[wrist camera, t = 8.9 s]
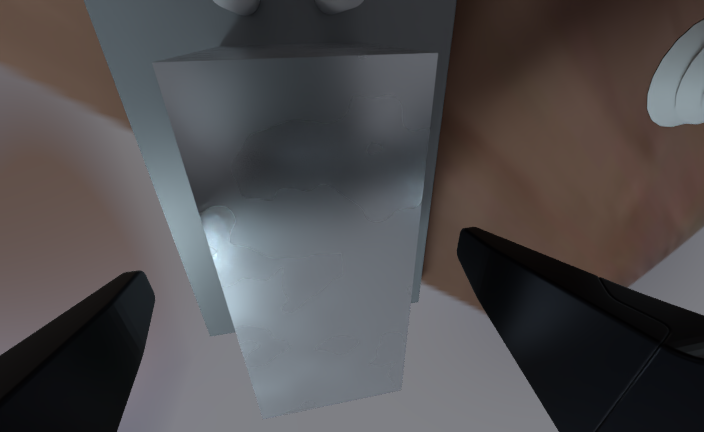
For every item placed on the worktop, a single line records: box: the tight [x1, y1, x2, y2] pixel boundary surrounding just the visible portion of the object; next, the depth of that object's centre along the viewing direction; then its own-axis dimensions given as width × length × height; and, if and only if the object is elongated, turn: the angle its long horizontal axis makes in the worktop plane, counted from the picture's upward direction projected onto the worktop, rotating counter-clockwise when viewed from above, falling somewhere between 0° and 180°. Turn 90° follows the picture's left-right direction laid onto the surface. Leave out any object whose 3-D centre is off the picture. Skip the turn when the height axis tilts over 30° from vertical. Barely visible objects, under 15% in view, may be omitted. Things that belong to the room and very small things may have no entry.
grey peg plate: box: [84, 0, 457, 336], centre depth 12 cm, size 11×15×4 cm
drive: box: [152, 42, 438, 419], centre depth 10 cm, size 5×10×6 cm, turn 1°
